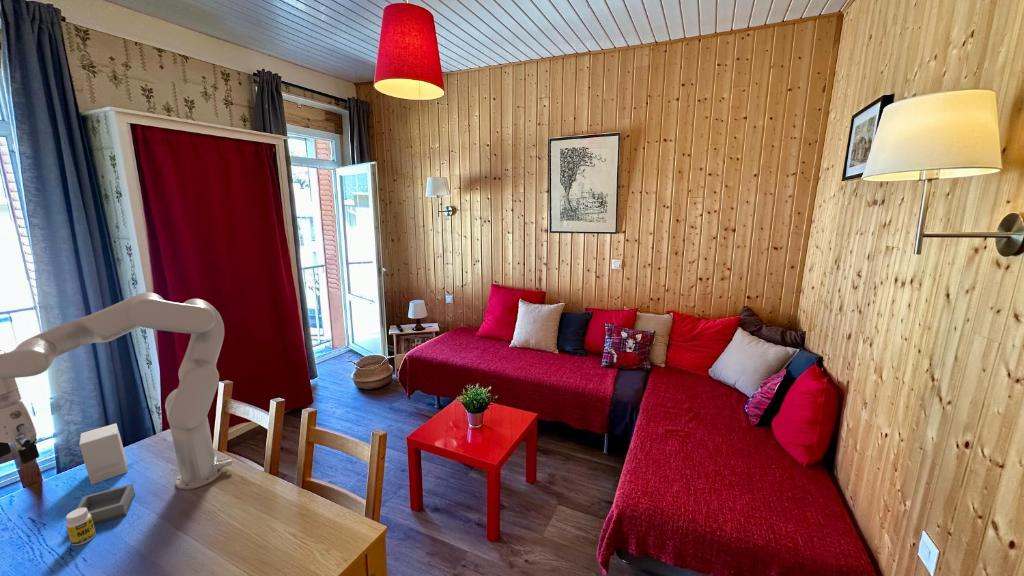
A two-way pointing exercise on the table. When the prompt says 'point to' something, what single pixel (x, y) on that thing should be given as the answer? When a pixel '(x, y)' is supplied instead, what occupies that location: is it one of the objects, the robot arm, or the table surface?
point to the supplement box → (103, 453)
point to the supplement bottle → (80, 526)
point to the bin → (108, 503)
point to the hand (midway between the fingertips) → (16, 458)
